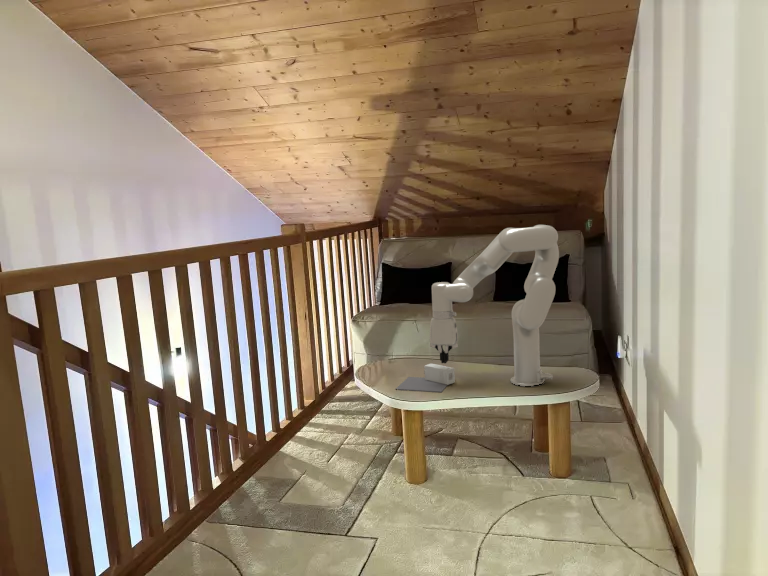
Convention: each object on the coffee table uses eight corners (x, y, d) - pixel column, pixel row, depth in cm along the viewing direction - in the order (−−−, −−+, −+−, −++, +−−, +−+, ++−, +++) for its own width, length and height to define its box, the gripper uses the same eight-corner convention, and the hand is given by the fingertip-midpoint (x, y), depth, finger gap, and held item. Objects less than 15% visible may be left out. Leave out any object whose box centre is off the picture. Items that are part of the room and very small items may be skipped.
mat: (451, 379, 229) (451, 378, 229) (441, 392, 214) (441, 391, 214) (408, 377, 235) (408, 376, 235) (395, 389, 220) (395, 388, 220)
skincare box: (454, 367, 223) (431, 362, 232) (447, 370, 220) (423, 364, 229) (455, 383, 224) (431, 377, 233) (447, 385, 221) (424, 379, 230)
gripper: (464, 313, 219) (465, 360, 221) (426, 313, 224) (428, 359, 226) (459, 317, 212) (461, 366, 214) (420, 316, 217) (422, 364, 219)
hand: (444, 362), depth 220 cm, fingers closed
